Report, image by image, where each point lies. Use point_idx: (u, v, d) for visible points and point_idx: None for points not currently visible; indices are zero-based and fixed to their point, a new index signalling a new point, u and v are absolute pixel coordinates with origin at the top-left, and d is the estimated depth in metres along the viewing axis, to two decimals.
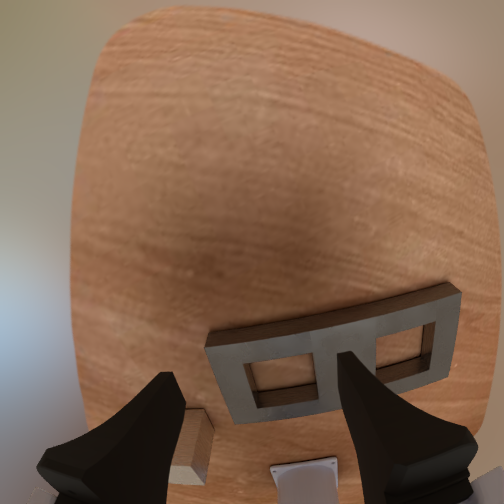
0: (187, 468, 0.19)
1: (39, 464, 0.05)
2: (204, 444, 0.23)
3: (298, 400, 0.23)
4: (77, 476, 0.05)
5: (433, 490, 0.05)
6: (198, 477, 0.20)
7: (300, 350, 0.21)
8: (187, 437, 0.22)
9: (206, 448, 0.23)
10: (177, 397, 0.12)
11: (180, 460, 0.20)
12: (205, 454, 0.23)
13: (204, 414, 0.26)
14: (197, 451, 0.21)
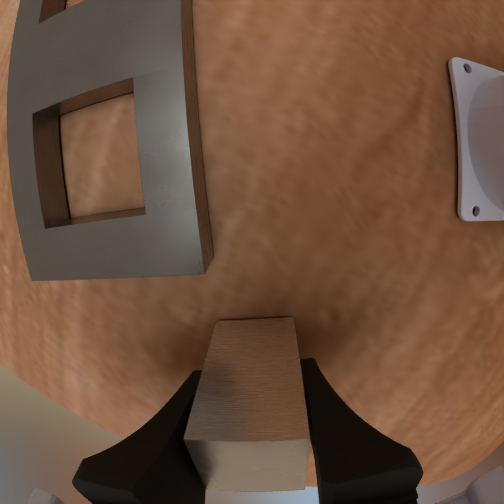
0: (197, 447, 0.07)
1: (77, 477, 0.05)
2: (253, 361, 0.11)
3: None
4: (127, 489, 0.05)
5: None
6: (253, 442, 0.07)
7: (26, 134, 0.09)
8: None
9: (268, 362, 0.11)
10: None
11: None
12: (269, 374, 0.10)
13: (225, 324, 0.14)
14: (214, 392, 0.09)
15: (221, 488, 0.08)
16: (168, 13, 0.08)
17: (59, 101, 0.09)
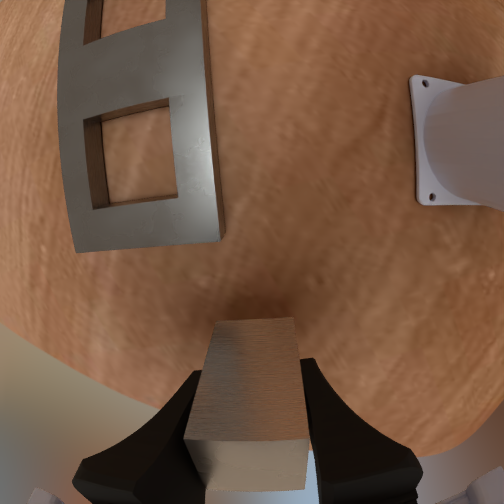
0: (198, 446, 0.07)
1: (77, 477, 0.05)
2: (252, 361, 0.11)
3: None
4: (127, 489, 0.05)
5: None
6: (253, 442, 0.07)
7: (78, 135, 0.14)
8: None
9: (268, 362, 0.11)
10: None
11: None
12: (269, 374, 0.10)
13: (224, 324, 0.14)
14: (214, 391, 0.09)
15: (221, 488, 0.08)
16: (193, 49, 0.12)
17: (107, 111, 0.13)
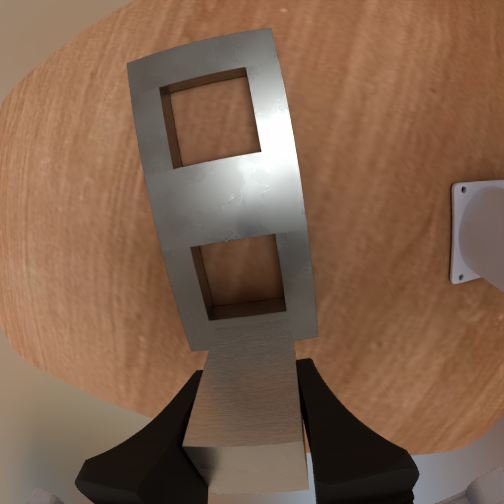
0: (196, 452, 0.08)
1: (80, 478, 0.05)
2: (249, 366, 0.11)
3: (279, 258, 0.18)
4: (131, 490, 0.05)
5: None
6: (247, 446, 0.07)
7: (187, 261, 0.18)
8: None
9: (264, 366, 0.11)
10: None
11: None
12: (265, 379, 0.10)
13: (223, 330, 0.14)
14: (212, 399, 0.09)
15: (227, 491, 0.08)
16: (293, 188, 0.17)
17: (216, 242, 0.18)
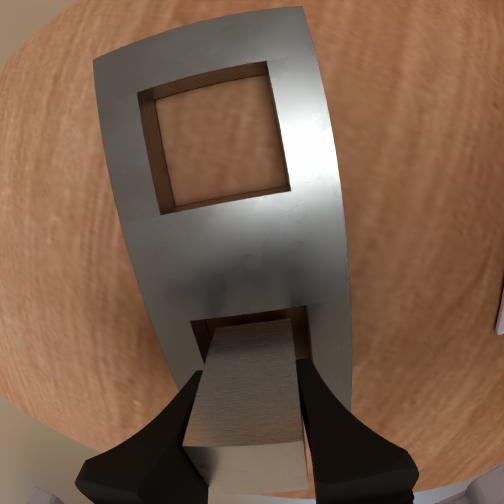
0: (196, 452, 0.08)
1: (80, 478, 0.05)
2: (249, 366, 0.11)
3: (310, 333, 0.13)
4: (131, 489, 0.05)
5: None
6: (247, 446, 0.07)
7: (186, 337, 0.13)
8: None
9: (264, 366, 0.11)
10: None
11: None
12: (265, 378, 0.10)
13: (223, 330, 0.14)
14: (212, 398, 0.09)
15: (227, 491, 0.08)
16: (335, 244, 0.12)
17: (225, 315, 0.13)
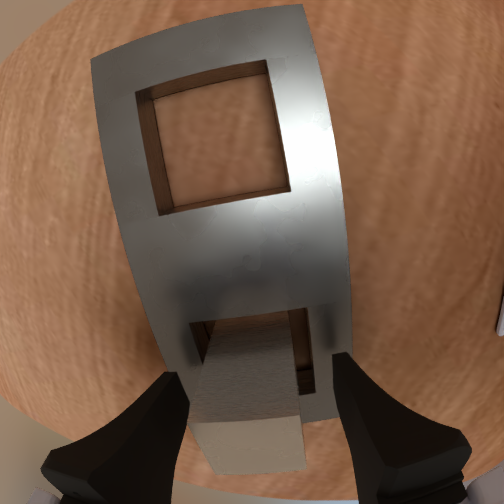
0: (200, 429, 0.08)
1: (43, 466, 0.05)
2: (249, 350, 0.12)
3: (310, 335, 0.13)
4: (83, 478, 0.05)
5: (426, 493, 0.05)
6: (248, 421, 0.08)
7: (185, 339, 0.13)
8: None
9: (263, 350, 0.12)
10: (181, 397, 0.12)
11: None
12: (263, 361, 0.11)
13: (224, 320, 0.15)
14: (214, 380, 0.10)
15: (228, 471, 0.09)
16: (336, 246, 0.11)
17: (224, 317, 0.13)
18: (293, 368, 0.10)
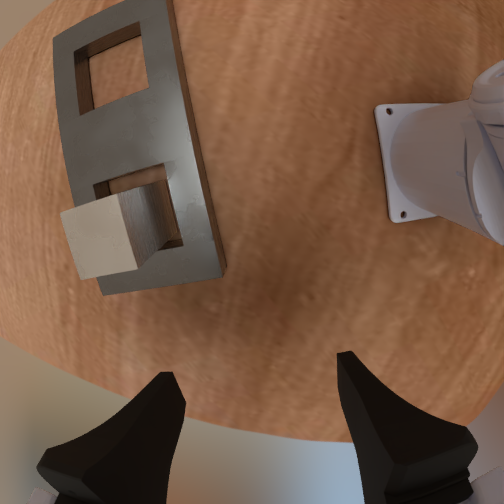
0: (66, 218, 0.13)
1: (39, 464, 0.05)
2: None
3: None
4: (77, 476, 0.05)
5: (433, 490, 0.05)
6: (89, 203, 0.12)
7: (90, 198, 0.17)
8: None
9: None
10: (177, 397, 0.12)
11: None
12: None
13: None
14: None
15: (87, 273, 0.14)
16: (178, 116, 0.16)
17: (113, 176, 0.17)
18: None
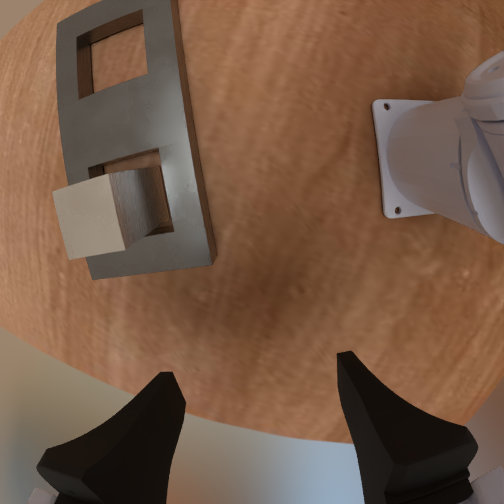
0: (58, 197, 0.12)
1: (39, 464, 0.05)
2: None
3: None
4: (77, 476, 0.05)
5: (433, 490, 0.05)
6: (81, 183, 0.12)
7: None
8: None
9: None
10: (177, 397, 0.12)
11: None
12: None
13: None
14: None
15: (76, 253, 0.13)
16: (175, 102, 0.15)
17: (108, 160, 0.17)
18: (129, 170, 0.14)
